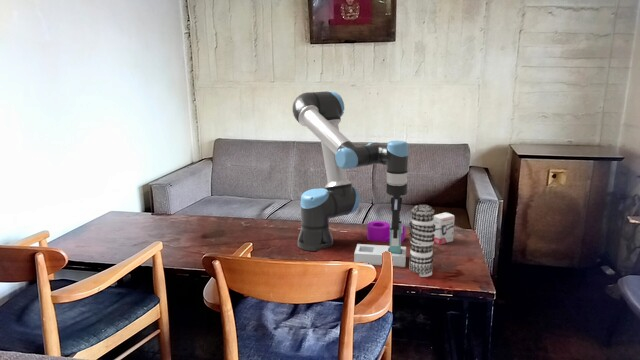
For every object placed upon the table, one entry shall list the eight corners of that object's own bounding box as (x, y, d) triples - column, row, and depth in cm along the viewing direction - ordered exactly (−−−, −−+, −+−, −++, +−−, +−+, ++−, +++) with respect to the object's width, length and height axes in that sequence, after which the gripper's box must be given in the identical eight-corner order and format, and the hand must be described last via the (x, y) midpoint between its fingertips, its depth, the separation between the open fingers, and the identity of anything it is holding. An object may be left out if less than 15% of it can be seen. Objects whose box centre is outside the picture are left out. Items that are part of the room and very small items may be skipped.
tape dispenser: (364, 240, 205) (364, 226, 204) (370, 233, 214) (370, 220, 212) (400, 245, 199) (400, 231, 198) (405, 237, 208) (406, 224, 206)
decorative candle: (405, 275, 170) (407, 208, 164) (410, 265, 178) (412, 201, 172) (431, 279, 166) (434, 211, 161) (434, 268, 175) (438, 204, 169)
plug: (389, 262, 179) (390, 226, 175) (389, 258, 182) (390, 223, 179) (401, 263, 178) (402, 227, 174) (401, 258, 181) (402, 223, 178)
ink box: (439, 245, 198) (441, 218, 195) (431, 241, 202) (432, 215, 199) (453, 240, 203) (455, 214, 200) (444, 237, 207) (446, 211, 204)
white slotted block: (354, 265, 178) (354, 253, 177) (357, 255, 188) (357, 243, 187) (405, 269, 175) (405, 256, 174) (405, 258, 184) (406, 246, 183)
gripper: (406, 189, 164) (404, 252, 169) (407, 178, 181) (405, 235, 186) (385, 189, 165) (383, 251, 170) (388, 177, 182) (386, 234, 188)
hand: (395, 242), depth 178 cm, fingers open, 5 cm apart
